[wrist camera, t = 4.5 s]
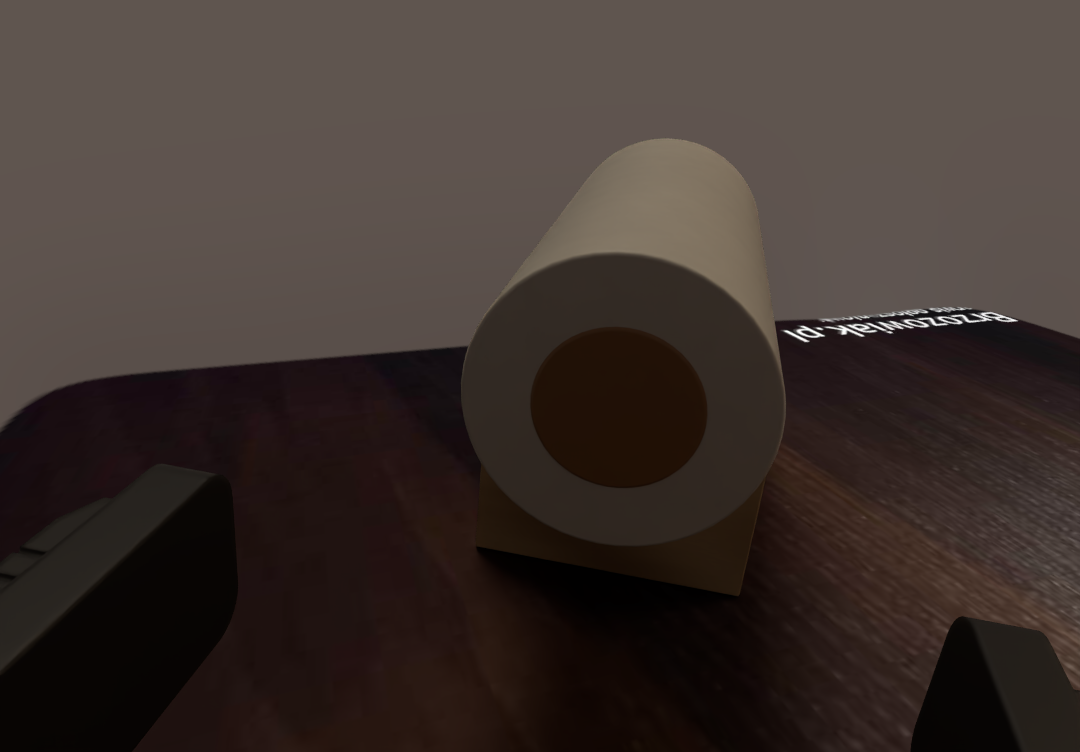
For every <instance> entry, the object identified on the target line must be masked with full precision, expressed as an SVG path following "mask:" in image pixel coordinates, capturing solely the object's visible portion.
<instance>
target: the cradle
mask: <svg viewBox="0 0 1080 752" xmlns="http://www.w3.org/2000/svg"><path fill="white" fill-rule="evenodd" d="M766 475H767V474H766ZM765 479H766V476H765V477H764V479H763V480H762V482H761V483H760V485H759V486H758V488H757V489H756V490H755V491H754V492H753V493H752V495H751V496H750V497H749V498H748V499H747V500H746V501H745V502H744V503H743V504H742V505H741V506H740V507H738V508H737V509H736V510H735V511H734V512H733V513H731V514H730V515H729V516H728V517H726V518H724V519H723V520H721V521H720V522H718V523H717V524H715V525H714V526H712V527H710V528H708V529H706V530H704V531H701V532H699V533H697V534H695V535H692V536H689V537H686V538H683V539H680V540H677V541H673V542H668V543H664V544H659V545H650V546H639V547H630V546H612V545H605V544H598V543H594V542H590V541H585V540H581V539H578V538H575V537H572V536H570V535H567V534H564V533H561V532H559V531H557V530H555V529H553V528H551V527H549V526H547V525H545V524H543V523H542V522H540V521H538V520H537V519H535V518H534V517H532V516H531V515H529V514H527V513H526V512H525V511H524V510H522V509H521V508H520V507H519V506H518V505H516V504H515V503H514V502H513V501H511V499H510V498H509V497H508V496H507V495H506V494H505V493H504V492H503V491H502V490H501V489H500V488H499V487H498V486H497V485H496V483H495V482H494V481H493V479H492V478H491V477H490V476H489V474H488V473H487V472H486V470H485V468H484V466H483V465H482V463H481V477H480V491H479V505H478V519H477V533H476V546H478V547H483V548H488V549H493V550H499V551H504V552H509V553H514V554H520V555H525V556H530V557H535V558H540V559H546V560H551V561H556V562H561V563H567V564H572V565H577V566H582V567H588V568H593V569H598V570H603V571H608V572H614V573H619V574H624V575H629V576H635V577H640V578H645V579H650V580H656V581H661V582H666V583H671V584H676V585H682V586H687V587H692V588H697V589H703V590H708V591H713V592H718V593H723V594H729V595H734V596H739V594H740V590H741V586H742V581H743V577H744V572H745V568H746V563H747V559H748V555H749V550H750V546H751V541H752V537H753V532H754V528H755V524H756V519H757V515H758V510H759V506H760V502H761V497H762V493H763V488H764V484H765Z"/></svg>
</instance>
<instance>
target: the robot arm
mask: <svg viewBox="0 0 1080 752" xmlns="http://www.w3.org/2000/svg"><path fill="white" fill-rule="evenodd" d="M237 593H238V576H237V560H236V544H235V528H234V512H233V497H232V489H231V486H230V483H229V481H228V480H227V478H226V477H224V476H223V475H219V474H213V473H208V472H203V471H197V470H192V469H187V468H181V467H176V466H171V465H165V464H158V465H155V466H153V467H151V468H150V469H148V470H147V471H146V472H145V473H143V474H142V475H141V476H140V477H138V478H137V479H136V480H135V481H134V482H132V483H131V484H130V485H129V486H127V487H126V488H125V489H124V490H122V491H121V492H120V493H119V494H118V495H116V496H115V497H114V498H113V499H110V498H102V499H100V500H98V501H96V502H93V503H91V504H89V505H86V506H84V507H82V508H80V509H77V510H75V511H73V512H71V513H68V514H66V515H64V516H61V517H59V518H57V519H56V520H54V521H53V522H52V523H50V524H49V525H48V526H47V527H45V528H44V529H43V530H41V531H40V532H39V533H38V534H36V535H35V536H34V537H32V538H31V539H30V540H29V541H27V542H26V543H25V544H23V545H22V546H21V547H20V551H19V553H18V554H17V553H12V554H11V555H9V556H8V557H7V558H5V559H4V560H3V561H1V562H0V752H132V751H133V750H134V748H135V747H136V746H137V744H138V743H139V742H140V741H141V739H142V738H143V737H144V736H145V734H146V733H147V732H148V731H149V729H150V728H151V727H152V725H153V724H154V723H155V722H156V720H157V719H158V718H159V717H160V715H161V714H162V713H163V712H164V710H165V709H166V708H167V707H168V705H169V704H170V703H171V701H172V700H173V699H174V698H175V696H176V695H177V694H178V693H179V691H180V690H181V689H182V688H183V686H184V685H185V684H186V682H187V681H188V680H189V679H190V677H191V676H192V675H193V674H194V672H195V671H196V670H197V669H198V667H199V666H200V665H201V664H202V662H203V661H204V660H205V658H206V657H207V656H208V655H209V653H210V652H211V651H212V650H213V648H214V647H215V646H216V645H217V643H218V642H219V641H220V639H221V638H222V636H223V635H224V633H225V631H226V629H227V627H228V625H229V623H230V620H231V618H232V615H233V612H234V609H235V604H236V600H237ZM911 752H1080V691H1078V690H1073V688H1072V686H1071V684H1070V682H1069V680H1068V678H1067V676H1066V674H1065V672H1064V670H1063V668H1062V666H1061V664H1060V662H1059V660H1058V658H1057V656H1056V654H1055V652H1054V650H1053V648H1052V646H1051V644H1050V642H1049V640H1048V639H1047V637H1046V636H1045V635H1044V634H1043V633H1042V632H1040V631H1037V630H1032V629H1027V628H1021V627H1016V626H1011V625H1005V624H1000V623H995V622H989V621H984V620H979V619H974V618H968V617H963V616H962V617H959V618H957V619H956V620H955V621H954V622H953V624H952V626H951V627H950V629H949V632H948V634H947V637H946V640H945V642H944V645H943V648H942V651H941V654H940V657H939V660H938V662H937V665H936V668H935V671H934V674H933V677H932V680H931V682H930V685H929V688H928V691H927V694H926V697H925V699H924V702H923V705H922V708H921V711H920V714H919V717H918V719H917V722H916V725H915V729H914V733H913V737H912V743H911Z"/></svg>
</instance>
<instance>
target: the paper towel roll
mask: <svg viewBox="0 0 1080 752" xmlns="http://www.w3.org/2000/svg"><path fill="white" fill-rule="evenodd" d="M461 401H462V408H463V415H464V421H465V424H466V428H467V431H468V434H469V438H470V440H471V443H472V445H473V447H474V450H475V452H476V454H477V456H478V458H479V460H480V461H481V463H482V465H483V466H484V468H485V470H486V472H487V473H488V474H489V476H490V477H491V478H492V479H493V481H494V482H495V483H496V485H497V486H498V487H499V488H500V489H501V490H502V491H503V492H504V493H505V494H506V495H507V496H508V497H509V498H510V499H511V501H513V502H514V503H515V504H516V505H518V506H519V507H520V508H521V509H522V510H524V511H525V512H526V513H527V514H529V515H531V516H532V517H534V518H535V519H537V520H538V521H540V522H542V523H543V524H545V525H547V526H549V527H551V528H553V529H555V530H557V531H559V532H561V533H564V534H567V535H570V536H572V537H575V538H578V539H581V540H585V541H590V542H594V543H598V544H605V545H612V546H630V547H639V546H650V545H659V544H664V543H668V542H673V541H677V540H680V539H683V538H686V537H689V536H692V535H695V534H697V533H699V532H701V531H704V530H706V529H708V528H710V527H712V526H714V525H715V524H717V523H718V522H720V521H721V520H723V519H724V518H726V517H728V516H729V515H730V514H731V513H733V512H734V511H735V510H736V509H737V508H738V507H740V506H741V505H742V504H743V503H744V502H745V501H746V500H747V499H748V498H749V497H750V496H751V495H752V493H753V492H754V491H755V490H756V489H757V488H758V486H759V485H760V483H761V482H762V480H763V479H764V477H765V476H766V474H767V473H768V471H769V469H770V467H771V465H772V463H773V461H774V459H775V457H776V455H777V452H778V449H779V445H780V442H781V439H782V436H783V429H784V423H785V416H786V395H785V389H784V382H783V375H782V369H781V362H780V355H779V349H778V342H777V335H776V329H775V322H774V317H773V309H772V303H771V296H770V289H769V283H768V276H767V270H766V262H765V256H764V249H763V243H762V236H761V229H760V223H759V216H758V210H757V207H756V203H755V200H754V197H753V195H752V193H751V191H750V188H749V187H748V185H747V183H746V182H745V180H744V179H743V177H742V176H741V175H740V173H739V172H738V171H737V170H736V169H735V167H734V166H732V165H731V164H730V163H729V162H728V161H727V160H726V159H725V158H723V157H722V156H720V155H719V154H717V153H716V152H714V151H713V150H711V149H708V148H706V147H705V146H702V145H699V144H696V143H693V142H690V141H685V140H680V139H667V138H663V139H652V140H647V141H642V142H639V143H636V144H633V145H630V146H627V147H625V148H623V149H621V150H620V151H618V152H616V153H614V154H613V155H611V156H610V157H609V158H607V159H606V160H605V161H604V162H603V163H601V164H600V165H599V166H598V167H597V168H596V169H595V170H594V172H593V173H592V174H591V175H590V176H589V178H588V179H587V180H586V182H585V183H584V184H583V186H582V187H581V188H580V190H579V191H578V192H577V194H576V195H575V196H574V197H573V199H572V200H571V201H570V203H569V204H568V206H567V207H566V208H565V209H564V210H563V212H562V213H561V214H560V216H559V217H558V218H557V220H556V221H555V222H554V224H553V225H552V226H551V228H550V229H549V230H548V232H547V233H546V234H545V236H544V237H543V238H542V239H541V241H540V242H539V243H538V245H537V246H536V247H535V249H534V250H533V251H532V253H531V254H530V255H529V257H528V258H527V259H526V261H525V262H524V263H523V264H522V266H521V267H520V269H519V270H518V271H517V272H516V274H515V275H514V276H513V278H512V279H511V280H510V282H509V283H508V284H507V286H506V287H505V288H504V289H503V291H502V292H501V294H500V295H499V296H498V297H497V299H496V300H495V301H494V303H493V304H492V305H491V307H490V308H489V309H488V311H487V312H486V314H485V315H484V317H483V318H482V320H481V322H480V323H479V325H478V326H477V328H476V330H475V333H474V335H473V337H472V339H471V342H470V344H469V346H468V350H467V354H466V357H465V361H464V365H463V373H462V380H461Z"/></svg>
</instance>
